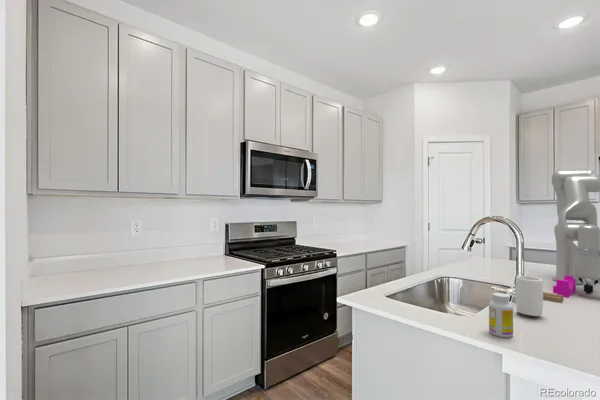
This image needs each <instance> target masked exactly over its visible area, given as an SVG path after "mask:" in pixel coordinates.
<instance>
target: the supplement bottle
mask: <svg viewBox="0 0 600 400" xmlns="http://www.w3.org/2000/svg"><path fill="white" fill-rule="evenodd" d="M491 296H492V300H490V302H489V303H488V330H489V333H490V334H492V335H494V336H495V337H500V338H512V337H513V336H514V307H513V305H512V303H511V302H509V301H510V295H509V294H507V293H504V292H493V293H492V295H491Z"/></svg>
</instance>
